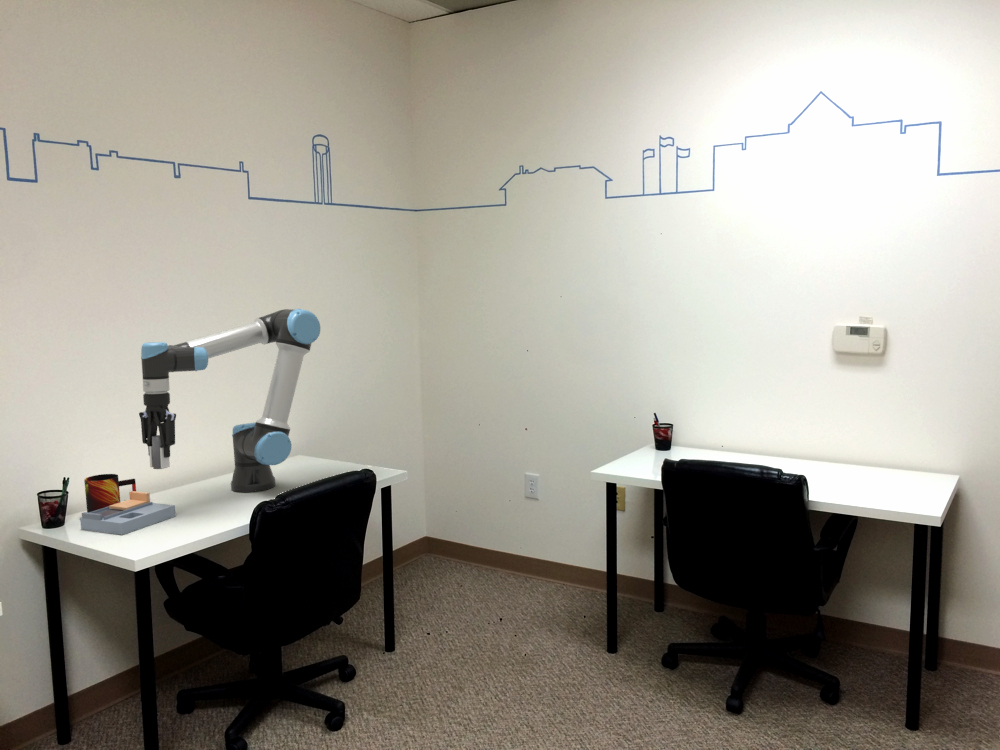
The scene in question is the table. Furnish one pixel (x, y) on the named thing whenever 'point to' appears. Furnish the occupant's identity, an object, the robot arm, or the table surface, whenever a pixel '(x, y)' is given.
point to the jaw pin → (156, 451)
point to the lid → (132, 501)
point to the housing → (126, 518)
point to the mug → (104, 490)
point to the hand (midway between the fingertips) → (159, 466)
